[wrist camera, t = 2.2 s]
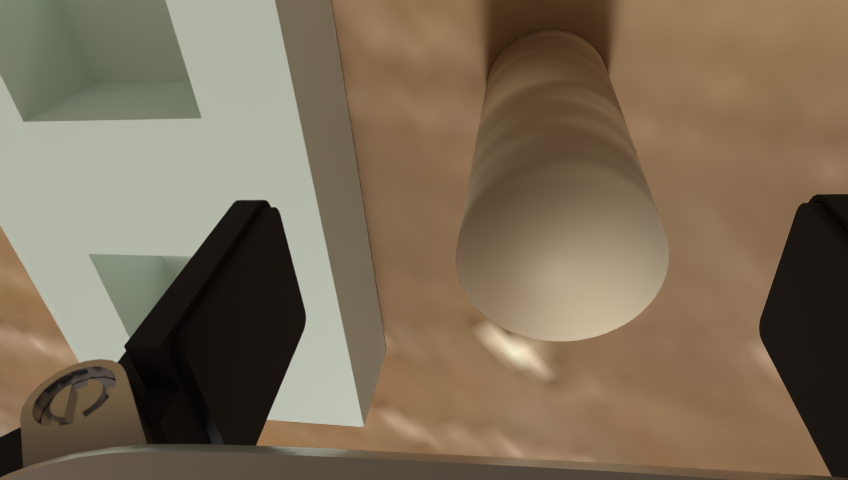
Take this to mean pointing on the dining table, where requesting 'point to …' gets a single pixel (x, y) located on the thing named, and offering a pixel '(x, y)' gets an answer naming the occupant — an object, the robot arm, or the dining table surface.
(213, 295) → the robot arm
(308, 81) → the hole block
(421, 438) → the dining table surface
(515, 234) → the pin
